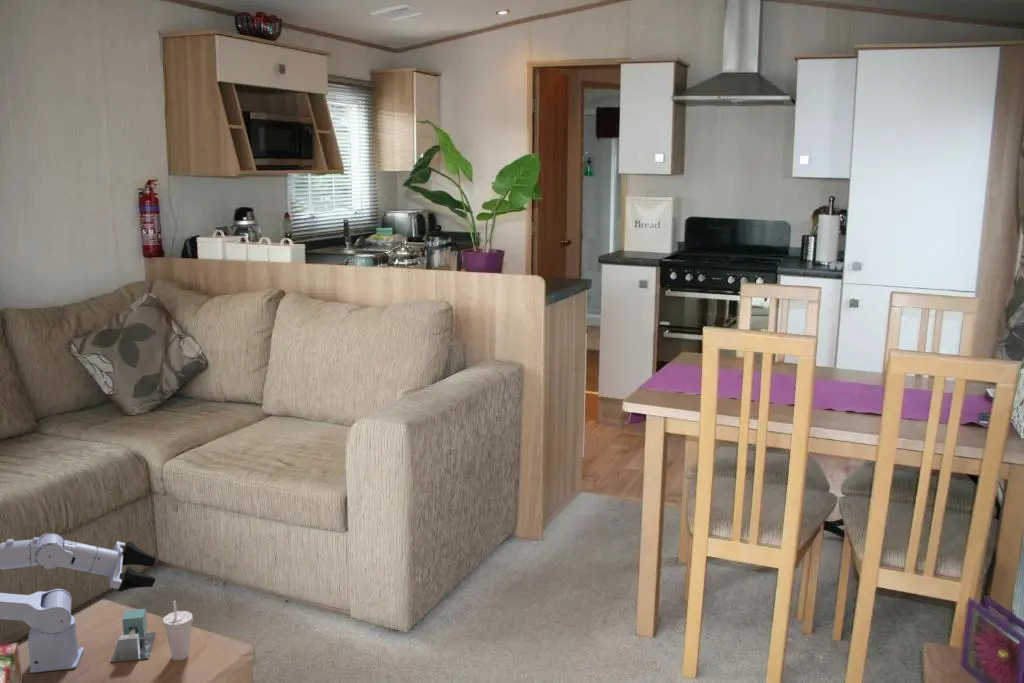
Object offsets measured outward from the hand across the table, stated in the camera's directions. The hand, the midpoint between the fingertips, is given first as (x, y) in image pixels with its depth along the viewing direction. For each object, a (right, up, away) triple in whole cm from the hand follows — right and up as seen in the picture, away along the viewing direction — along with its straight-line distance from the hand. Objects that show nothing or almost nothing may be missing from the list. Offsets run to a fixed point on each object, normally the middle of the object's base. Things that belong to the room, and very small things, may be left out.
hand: (154, 572), depth 206 cm
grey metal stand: (-5, -18, +1) cm, 19 cm away
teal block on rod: (-6, -15, +3) cm, 17 cm away
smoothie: (+7, -19, -2) cm, 20 cm away
